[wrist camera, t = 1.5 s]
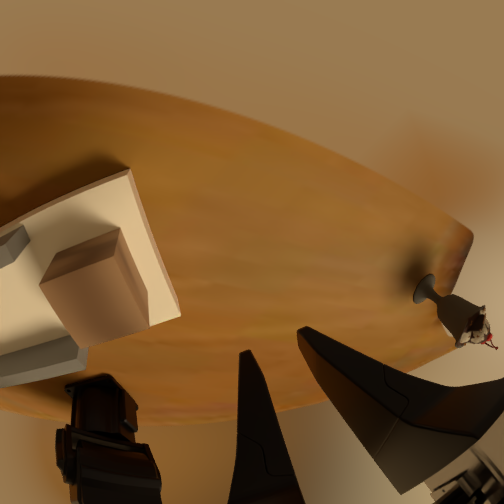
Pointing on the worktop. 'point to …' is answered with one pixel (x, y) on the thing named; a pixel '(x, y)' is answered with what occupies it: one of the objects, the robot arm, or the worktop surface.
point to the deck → (65, 236)
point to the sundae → (457, 315)
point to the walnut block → (97, 290)
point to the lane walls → (42, 355)
